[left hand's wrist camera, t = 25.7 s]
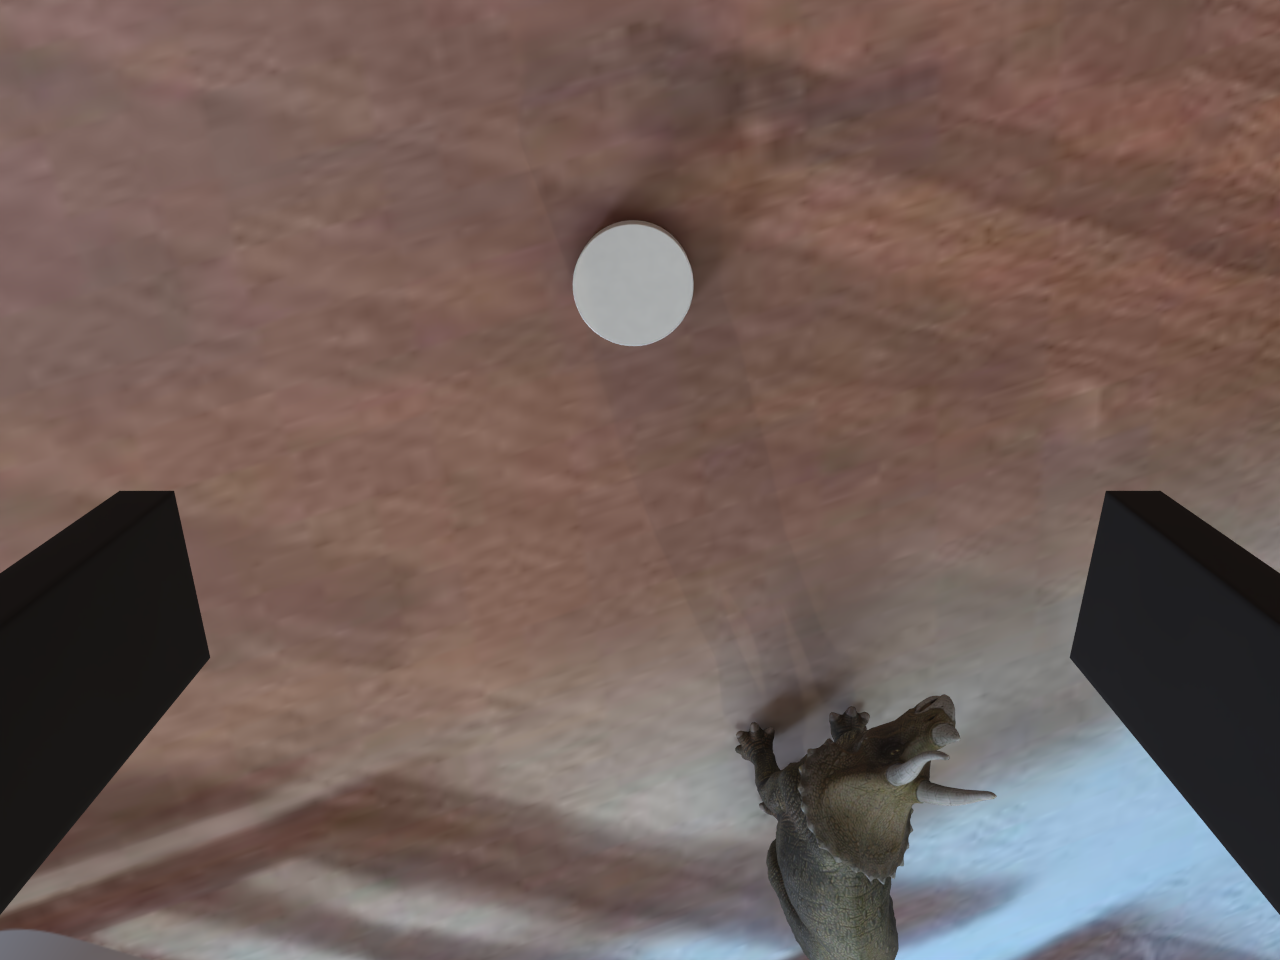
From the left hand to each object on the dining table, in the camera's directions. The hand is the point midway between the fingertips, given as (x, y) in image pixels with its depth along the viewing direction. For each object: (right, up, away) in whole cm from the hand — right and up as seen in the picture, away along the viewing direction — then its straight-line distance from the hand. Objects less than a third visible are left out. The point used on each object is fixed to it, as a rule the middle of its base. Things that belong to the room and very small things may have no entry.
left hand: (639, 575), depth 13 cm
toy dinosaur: (+9, -15, +35) cm, 39 cm away
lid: (0, +9, +23) cm, 25 cm away
